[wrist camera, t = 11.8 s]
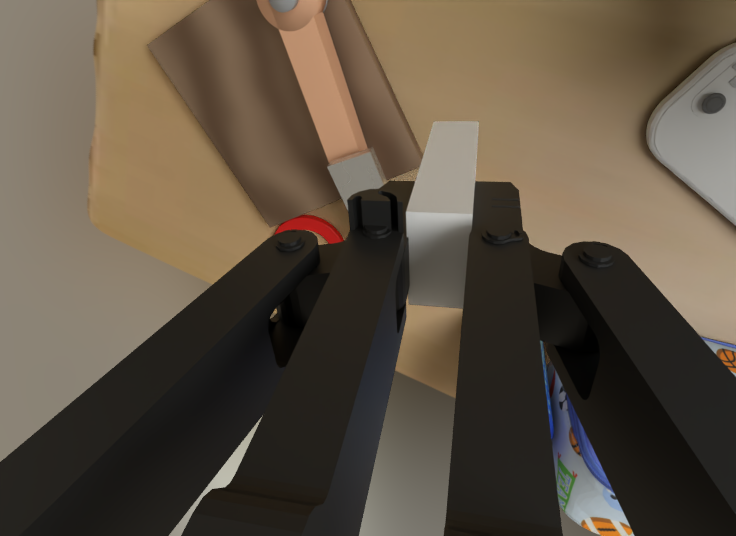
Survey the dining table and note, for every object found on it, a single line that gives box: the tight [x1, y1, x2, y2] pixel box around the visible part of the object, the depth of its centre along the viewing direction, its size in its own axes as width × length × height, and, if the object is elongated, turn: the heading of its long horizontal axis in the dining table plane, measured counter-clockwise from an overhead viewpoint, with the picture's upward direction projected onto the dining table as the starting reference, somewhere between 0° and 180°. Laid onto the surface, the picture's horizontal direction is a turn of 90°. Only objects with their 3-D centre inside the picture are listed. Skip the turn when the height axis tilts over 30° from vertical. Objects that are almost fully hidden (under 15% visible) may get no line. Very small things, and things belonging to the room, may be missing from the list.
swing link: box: [256, 0, 368, 163], centre depth 39 cm, size 18×5×4 cm, turn 19°
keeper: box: [327, 147, 387, 210], centre depth 44 cm, size 10×4×6 cm, turn 24°
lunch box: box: [546, 337, 736, 536], centre depth 43 cm, size 28×10×22 cm, turn 85°
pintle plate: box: [147, 0, 423, 227], centre depth 43 cm, size 18×20×2 cm
